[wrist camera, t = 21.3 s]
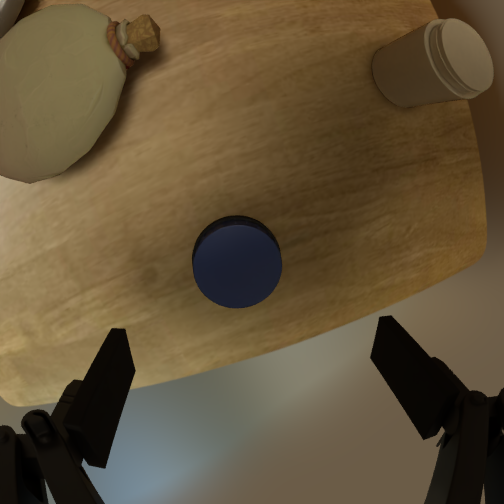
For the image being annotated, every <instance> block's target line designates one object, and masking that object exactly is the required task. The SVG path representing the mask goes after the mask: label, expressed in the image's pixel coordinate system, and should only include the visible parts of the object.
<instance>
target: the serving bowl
mask: <svg viewBox="0 0 504 504" xmlns="http://www.w3.org/2000/svg"><path fill="white" fill-rule="evenodd" d="M24 1H25V0H0V39H1V38H2V37H3V36H4V35H5V34H6V33H7V32H8V31H9V30H10V29H11V28H12V26H13V25H14V23H15V21H16V19H17V17H18V15H19V13H20V11H21V9H22V6H23V4H24Z"/></svg>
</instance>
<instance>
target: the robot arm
mask: <svg viewBox="0 0 504 504" xmlns="http://www.w3.org/2000/svg"><path fill="white" fill-rule="evenodd" d="M370 358H371V360H372V361H373V363H374V364H375V366H376V367H377V369H378V370H379V372H380V373H381V375H382V376H383V378H384V379H385V381H386V382H387V384H388V385H389V387H390V389H391V390H392V392H393V393H394V394H395V396H396V398H397V399H398V401H399V402H400V404H401V405H402V407H403V409H404V410H405V412H406V413H407V415H408V416H409V418H410V419H411V421H412V423H413V424H414V426H415V427H416V429H417V430H418V432H419V434H420V435H421V437H422V439H423V440H425V439H428V438H430V437H433V436H435V435H437V433H438V432H439V430H440V428H441V427H443V428H444V430H445V432H444V434H443V435H442V437H441V439H440V440H439V442H438V443H437V445H436V446H437V447H438V446H439V445H440V443H441V445H440V450H439V454H438V458H437V462H436V466H435V470H434V473H433V477H432V480H431V484H430V487H429V490H428V493H427V497H426V500H425V503H424V504H480V502H481V496H482V490H483V484H484V491H485V504H504V435H503V432H502V430H504V388H503V389H501V391H500V393H499V395H498V396H494V397H487V396H486V395H485V394H483V393H482V392H479V391H473V390H472V391H469V390H468V389H467V387H466V386H465V385H464V384H463V383H462V382H461V381H460V380H459V378H458V377H457V376H456V375H455V374H453V372H452V371H451V370H450V369H449V368H448V367H447V365H446V364H445V363H444V362H443V361H441V360H439V359H438V358H436V357H432V358H431V357H430V356H429V355H428V354H427V353H426V352H425V351H424V350H423V349H422V348H421V347H420V345H419V344H418V343H417V342H416V341H415V340H414V339H413V338H412V337H411V336H410V335H409V334H408V332H407V331H406V330H405V329H404V328H403V327H402V326H401V325H400V324H399V323H398V322H397V321H396V320H395V319H394V318H393V317H392V316H391V315H390V316H382V317H379V321H378V327H377V331H376V335H375V339H374V344H373V348H372V352H371V356H370ZM135 371H136V370H135V367H134V363H133V359H132V355H131V351H130V347H129V343H128V339H127V334H126V330H125V329H119V328H111V330H110V332H109V334H108V335H107V337H106V339H105V341H104V342H103V344H102V346H101V348H100V350H99V352H98V353H97V355H96V357H95V359H94V361H93V363H92V364H91V366H90V368H89V370H88V372H87V374H86V376H85V378H84V380H83V381H82V380H75V379H74V380H73V381H72V382H71V383H70V384H69V385H67V386H66V388H65V390H64V392H63V394H62V396H61V397H60V399H59V402H58V403H57V405H56V407H55V409H54V411H53V413H52V415H51V416H49V414H48V413H47V412H45V411H44V410H39V409H37V410H32V411H30V412H28V413H27V414H26V415H25V416H24V417H23V419H22V421H21V426H22V428H23V430H24V431H25V433H26V434H16V433H15V431H14V430H13V429H12V428H11V427H9V426H5V425H2V426H0V504H48V498H47V493H46V486H45V480H46V482H47V485H48V487H49V489H50V492H51V494H52V496H53V498H54V500H55V502H56V504H105V503H104V502H103V500H102V499H101V497H100V495H99V494H98V492H97V491H96V489H95V487H94V486H93V484H92V482H91V481H90V479H89V477H88V475H87V474H86V472H85V470H84V468H83V467H82V465H81V464H82V461H83V458H84V459H85V461H86V462H87V464H88V465H90V466H95V467H99V468H106V464H107V460H108V457H109V454H110V450H111V446H112V443H113V440H114V437H115V433H116V430H117V427H118V423H119V419H120V417H121V414H122V410H123V407H124V404H125V401H126V398H127V395H128V392H129V389H130V386H131V383H132V380H133V377H134V374H135Z"/></svg>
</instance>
